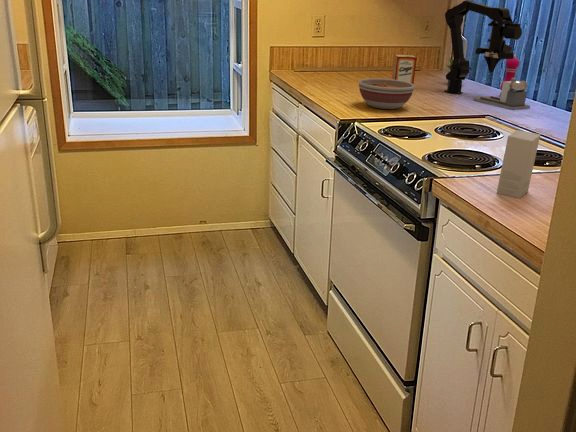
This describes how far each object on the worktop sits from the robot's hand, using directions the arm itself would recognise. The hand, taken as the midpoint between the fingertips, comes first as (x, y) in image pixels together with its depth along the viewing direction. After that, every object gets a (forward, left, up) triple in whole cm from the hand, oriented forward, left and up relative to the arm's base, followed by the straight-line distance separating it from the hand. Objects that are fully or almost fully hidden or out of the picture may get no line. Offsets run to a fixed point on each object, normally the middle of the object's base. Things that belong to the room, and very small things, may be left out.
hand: (491, 72), depth 284 cm
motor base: (+11, -1, -12) cm, 17 cm away
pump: (+14, -1, -11) cm, 17 cm away
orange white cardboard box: (-34, -24, -13) cm, 43 cm away
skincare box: (+106, -90, -13) cm, 140 cm away
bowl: (+3, -60, -13) cm, 61 cm away
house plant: (-37, +12, -13) cm, 40 cm away
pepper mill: (-4, +16, -13) cm, 21 cm away
